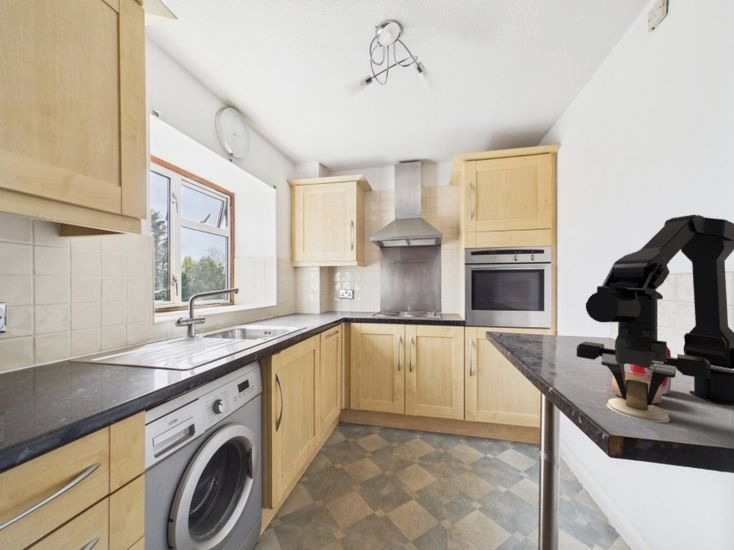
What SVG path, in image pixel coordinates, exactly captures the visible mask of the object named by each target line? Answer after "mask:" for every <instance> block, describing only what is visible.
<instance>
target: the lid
mask: <svg viewBox="0 0 734 550" xmlns="http://www.w3.org/2000/svg"><path fill="white" fill-rule="evenodd" d="M607 404H609V406H610V407H612V408H613V409H615V410H617V411H620V412H622V413H625V414H628V415H632V416H635V417H640V418H645V419H651V420H666V419H668V417H669V413H668V412H667V411H666V410H665V409H663V408H661V407H659V406H656V405H653V404H651V406H649V405H648V383H646V382H643V381H638V380H632V379H627V380H626V400H624V399H623V397H617V398H616V397H614V398H613V397H612V398H609V399H608V402H607Z"/></svg>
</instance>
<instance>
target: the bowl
mask: <svg viewBox="0 0 734 550" xmlns="http://www.w3.org/2000/svg"><path fill="white" fill-rule="evenodd" d="M611 374H612V373H611ZM651 377H652V376H649V375H645V374H640V373H635V372H630V371H627V370H625V379H626V380H627V379H632V380H638V381H643V382H646V383H648V393H649V388H650V382H651ZM611 385H612V387H611V389H612V393H613V394H615V395H616V396H619V397H620V398H623V397H622V395H621V392H620V390H619V387H618V385H617V382H616V380H615V377H614V376H613V374H612V384H611ZM662 396H663V395H662V384H661V385H660V387H659V389H658V391H657V393H656V395H655V397H654V399H653V401H652V404H660V403H662V401H663V400H662V399H663V397H662Z"/></svg>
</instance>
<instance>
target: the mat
mask: <svg viewBox="0 0 734 550" xmlns="http://www.w3.org/2000/svg"><path fill="white" fill-rule="evenodd" d="M606 406H607V407H608V409H610V410H612V411H613V412H616V413H618V414H620V415H623V416H626V417H629V418H631V419H632V418H633V419H635V420H636V419H637V420H639V421H644V422H651V423H668V422H670V419H671V418H670V417H669V416H668V419H666V420H651V419H645V418H640V417H635V416H632V415H628V414H625V413H622V412H620V411H617V410H615V409H613V408H612V407H610V406H609V404H608V403H607V404H606Z"/></svg>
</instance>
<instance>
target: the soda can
mask: <svg viewBox="0 0 734 550" xmlns="http://www.w3.org/2000/svg"><path fill="white" fill-rule="evenodd" d="M671 354H672V353H671V350H670V348H669V347H668V346H667V357H670V358H672V355H671ZM653 369H654V365H651V367H648V368H643V367H639V366H637V365H631V364H629V372H635V373H640V374H645V375H649V376H652V371H653ZM671 386H672V378H671V377H667V378H666V379H665V380H664V381H663V383H662V396H663V395H667V394H670V393H671Z"/></svg>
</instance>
